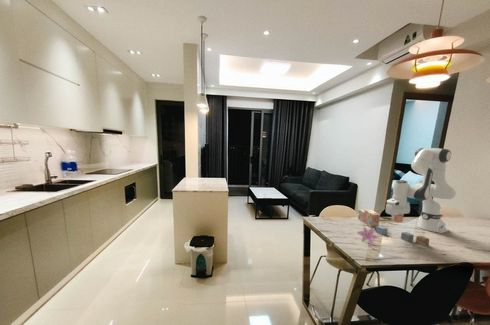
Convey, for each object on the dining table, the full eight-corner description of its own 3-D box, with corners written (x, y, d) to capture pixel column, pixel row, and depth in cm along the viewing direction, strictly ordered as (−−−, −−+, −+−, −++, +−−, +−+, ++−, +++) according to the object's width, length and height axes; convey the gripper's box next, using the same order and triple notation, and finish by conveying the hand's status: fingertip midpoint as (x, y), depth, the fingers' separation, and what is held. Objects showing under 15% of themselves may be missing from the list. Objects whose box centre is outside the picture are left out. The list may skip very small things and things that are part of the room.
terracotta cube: (396, 219, 155) (396, 213, 154) (402, 222, 150) (403, 215, 149) (391, 220, 153) (391, 213, 153) (397, 222, 149) (398, 216, 148)
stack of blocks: (357, 218, 189) (359, 206, 187) (364, 219, 188) (365, 206, 187) (371, 228, 167) (372, 214, 166) (378, 228, 167) (380, 214, 166)
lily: (354, 238, 149) (355, 230, 144) (365, 231, 152) (366, 222, 147) (369, 250, 139) (371, 242, 134) (380, 242, 143) (382, 233, 138)
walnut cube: (420, 242, 146) (421, 235, 145) (428, 245, 141) (429, 238, 140) (415, 242, 144) (416, 236, 144) (423, 246, 139) (424, 239, 139)
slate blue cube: (381, 231, 161) (381, 225, 161) (386, 234, 156) (387, 228, 156) (376, 232, 160) (376, 226, 159) (381, 234, 155) (382, 228, 155)
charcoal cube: (405, 238, 151) (406, 231, 151) (412, 241, 146) (413, 234, 146) (400, 238, 150) (401, 232, 149) (407, 241, 145) (408, 235, 144)
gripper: (405, 199, 156) (403, 216, 157) (384, 200, 151) (382, 218, 152) (413, 202, 150) (411, 219, 151) (392, 203, 144) (390, 221, 146)
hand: (396, 219), depth 151 cm, fingers closed on terracotta cube, 5 cm apart
